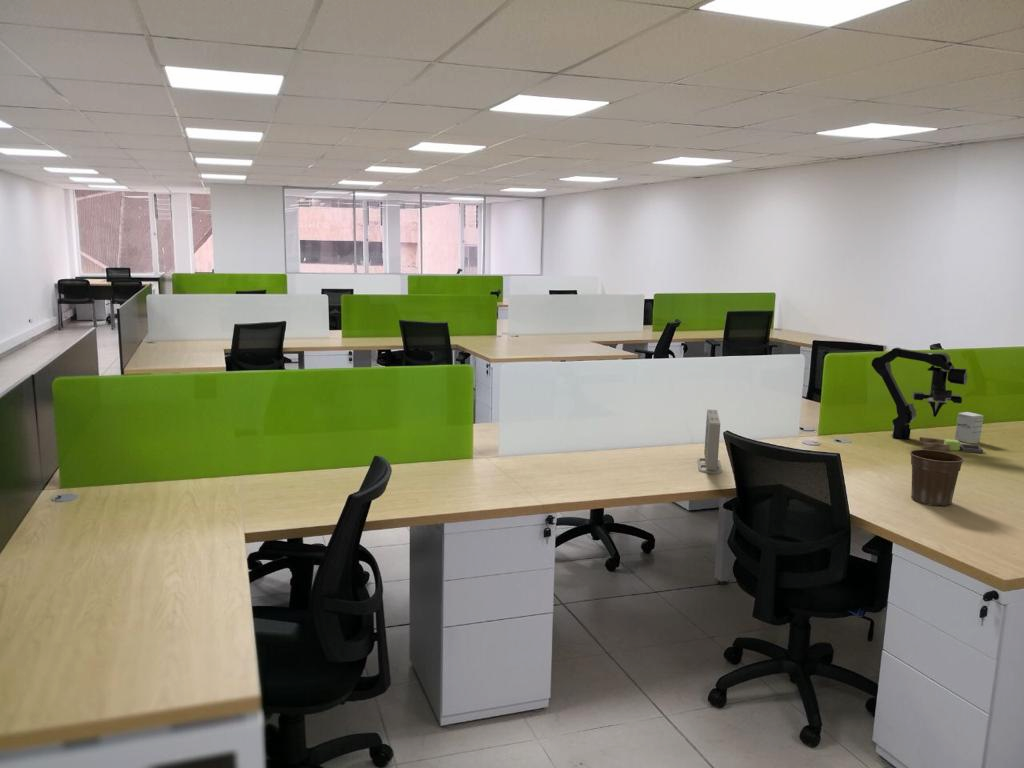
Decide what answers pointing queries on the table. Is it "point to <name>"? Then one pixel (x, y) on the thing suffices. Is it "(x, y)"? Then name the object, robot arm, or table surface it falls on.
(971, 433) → the supplement box
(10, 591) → the table surface
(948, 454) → the plant pot
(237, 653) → the table surface
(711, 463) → the network device
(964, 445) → the trap pit
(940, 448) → the lane rails
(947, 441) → the lime block
